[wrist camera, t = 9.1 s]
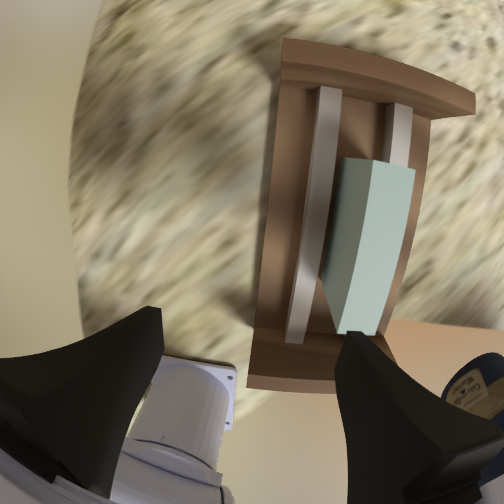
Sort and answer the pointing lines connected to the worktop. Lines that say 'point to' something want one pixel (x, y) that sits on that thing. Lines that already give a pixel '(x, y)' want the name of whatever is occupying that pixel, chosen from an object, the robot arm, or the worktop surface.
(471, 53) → the worktop surface
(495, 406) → the canister
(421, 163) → the track base
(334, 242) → the door panel
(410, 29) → the worktop surface
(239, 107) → the worktop surface
